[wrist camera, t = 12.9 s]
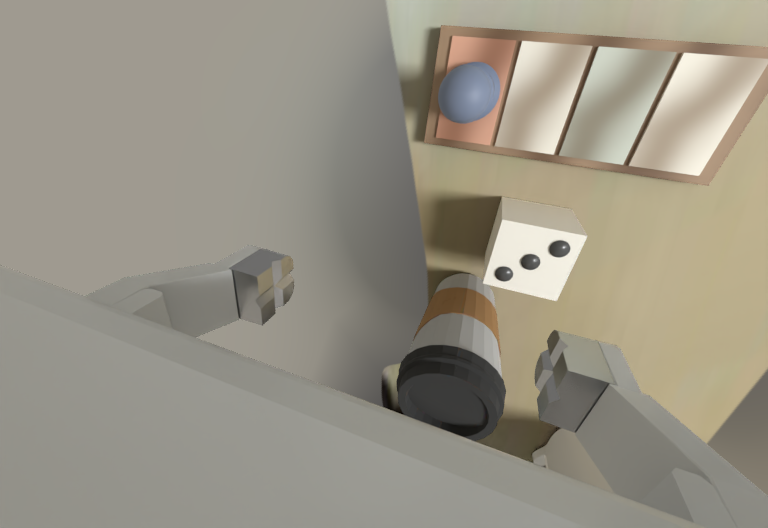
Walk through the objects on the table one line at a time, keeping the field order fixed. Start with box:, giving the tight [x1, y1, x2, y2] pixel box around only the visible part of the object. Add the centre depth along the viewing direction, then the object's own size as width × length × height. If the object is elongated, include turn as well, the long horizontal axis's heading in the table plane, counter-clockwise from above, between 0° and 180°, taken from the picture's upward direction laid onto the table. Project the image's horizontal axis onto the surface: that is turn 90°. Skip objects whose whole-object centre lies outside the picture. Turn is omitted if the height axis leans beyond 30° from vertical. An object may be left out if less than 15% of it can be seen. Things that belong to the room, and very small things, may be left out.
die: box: [483, 197, 587, 301], centre depth 27 cm, size 6×6×6 cm
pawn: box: [438, 62, 500, 124], centre depth 21 cm, size 4×4×9 cm
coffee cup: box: [397, 273, 506, 441], centre depth 29 cm, size 8×8×15 cm
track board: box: [424, 25, 768, 186], centre depth 24 cm, size 22×8×1 cm, turn 87°
